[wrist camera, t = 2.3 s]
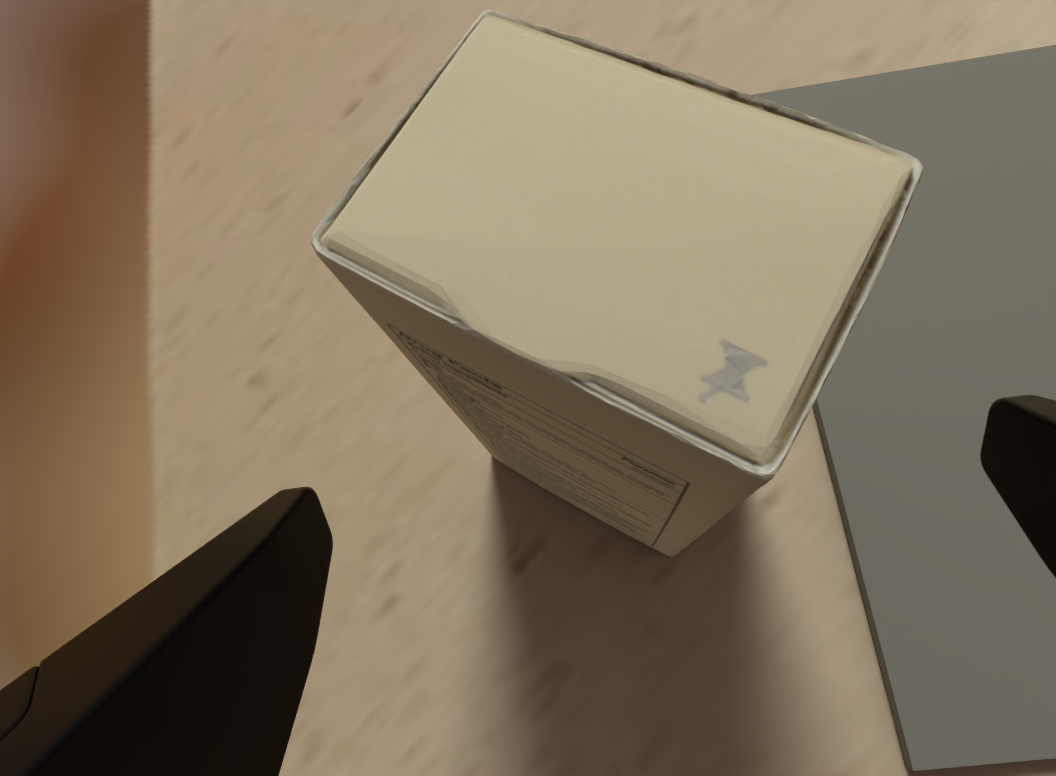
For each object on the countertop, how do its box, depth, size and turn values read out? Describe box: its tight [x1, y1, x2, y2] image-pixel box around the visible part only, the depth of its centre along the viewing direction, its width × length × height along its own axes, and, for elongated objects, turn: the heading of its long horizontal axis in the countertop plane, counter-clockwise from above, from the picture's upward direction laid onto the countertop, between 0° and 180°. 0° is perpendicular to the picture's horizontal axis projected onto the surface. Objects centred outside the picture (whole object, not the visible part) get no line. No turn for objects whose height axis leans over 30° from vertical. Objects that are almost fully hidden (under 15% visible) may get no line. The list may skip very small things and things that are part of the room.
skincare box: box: [311, 10, 923, 557], centre depth 13 cm, size 6×4×12 cm
